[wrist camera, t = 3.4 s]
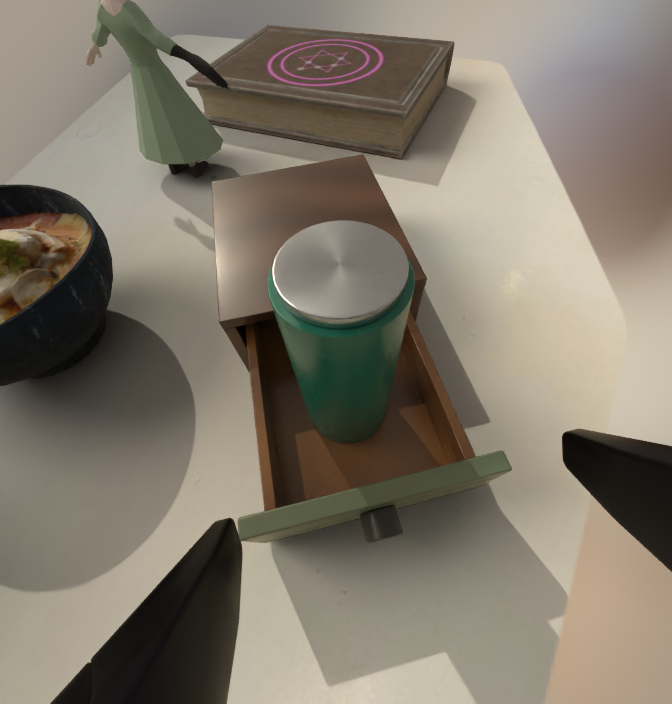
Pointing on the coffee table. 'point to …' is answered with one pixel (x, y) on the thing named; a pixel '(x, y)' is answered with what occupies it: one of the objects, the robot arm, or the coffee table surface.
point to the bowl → (49, 282)
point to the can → (343, 321)
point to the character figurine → (159, 89)
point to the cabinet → (288, 230)
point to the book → (328, 87)
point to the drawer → (355, 448)
